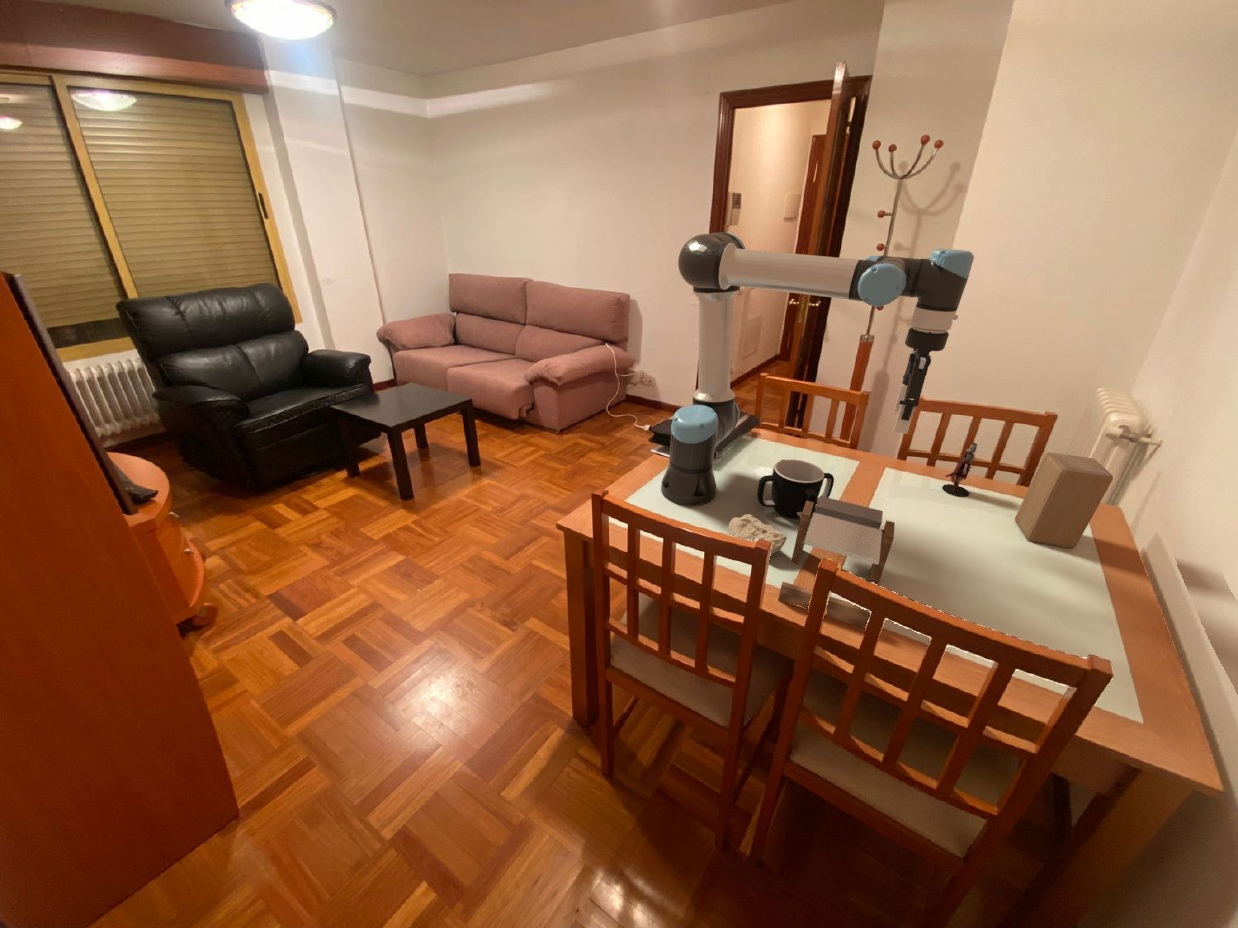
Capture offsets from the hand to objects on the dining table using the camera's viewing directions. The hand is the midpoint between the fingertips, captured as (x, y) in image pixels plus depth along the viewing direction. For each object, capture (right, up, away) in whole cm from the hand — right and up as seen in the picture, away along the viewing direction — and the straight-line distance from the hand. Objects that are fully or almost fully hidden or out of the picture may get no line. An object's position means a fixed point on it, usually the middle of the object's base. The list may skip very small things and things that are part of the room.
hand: (900, 421), depth 115 cm
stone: (-34, -29, +2) cm, 45 cm away
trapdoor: (-18, -25, -11) cm, 33 cm away
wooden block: (+39, -27, +7) cm, 48 cm away
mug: (-20, -22, +15) cm, 34 cm away
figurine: (+30, -17, +26) cm, 43 cm away
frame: (-21, -35, -10) cm, 42 cm away
